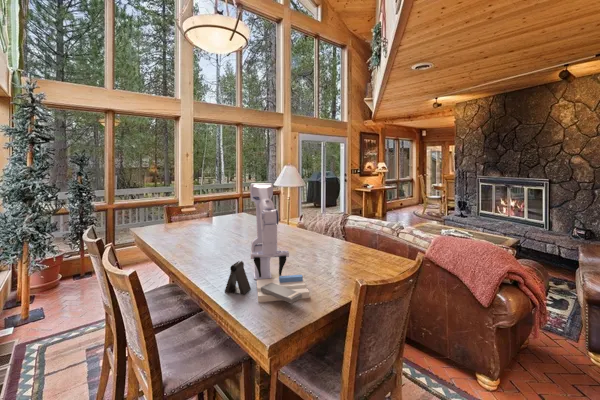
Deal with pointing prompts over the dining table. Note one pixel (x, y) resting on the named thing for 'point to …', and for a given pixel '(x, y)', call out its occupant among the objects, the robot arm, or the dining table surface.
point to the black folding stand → (237, 280)
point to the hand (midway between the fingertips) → (270, 275)
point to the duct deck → (295, 286)
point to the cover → (281, 292)
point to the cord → (290, 278)
